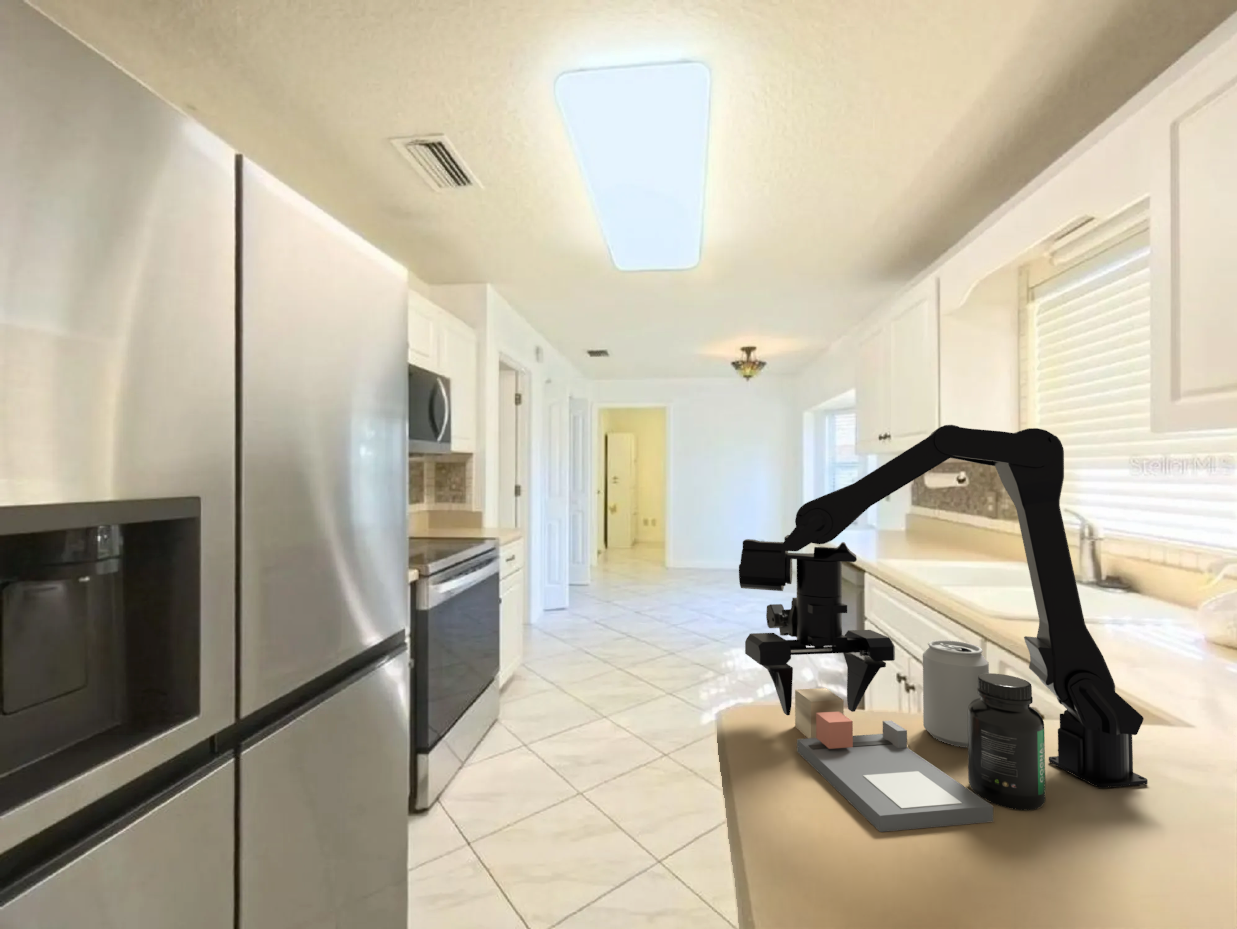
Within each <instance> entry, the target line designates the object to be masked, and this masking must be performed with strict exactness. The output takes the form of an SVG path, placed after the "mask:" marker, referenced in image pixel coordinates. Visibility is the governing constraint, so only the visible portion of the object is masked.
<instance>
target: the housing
mask: <svg viewBox="0 0 1237 929" xmlns="http://www.w3.org/2000/svg"><path fill="white" fill-rule="evenodd" d="M844 702H845V701H844V699H843V698H842V697H839V695H837V694H835V693H834V692H832V691H831V690H830V689H828V688H826V687H823V688H803V689H794V724H795V725H794V727H795V728H796V729H797V730H798V731H800V733H801V734H803V735H804V736H805V737H806V739H807V738H816V713H821V712H840V713H842V714H843V715H845V711H844V707H845V706H844Z"/></svg>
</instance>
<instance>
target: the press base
mask: <svg viewBox="0 0 1237 929" xmlns="http://www.w3.org/2000/svg"><path fill="white" fill-rule="evenodd" d="M796 752H797V753H798V754H799V755H800V756H801V757H802V758H803V759H804V760H805V761H806V762H807V763H808V764H810V766H811V767H813V769H815V771H817V772H818V773H819V774H820V775H821V776H822V777H823V779H825V780H826V781H827V782H828V783H829V784H830V785H831V786H832V787H833V788H834V789H835V790H836V791H837V792H838V793H839V794H840V795H841V796H843V798H844V799H845V800H847V801H848V802H849V804H851V805H852V806H853V808H854V809H856V810H857V811H858V812H859V813H860V814H861V815H862V816H863V817H864V818H865V819H866V820H867V821H868V822H869V823H870V824H871V825H872V826H873V827H874V828H875V829H876V830H877V831H878V832H879V833H882V832H883V833H885V832H896V831H897V832H898V831H907V830H915V829H917V830H918V829H928V828H939V827H949V826H960V825H969V824H970V825H972V824H973V825H974V824H982V823H983V824H984V823H994V805H992V804H991V803H990V802H989V801H987V800H985V799H983V798H981V797H980V796H978V795H977V794H976V793H975V792H974V791H973V790H971V789H969V788H968V787H966V786H965V785H963V784H961V783H960V782H959V781H957V780H956V779H954V778H953V777H951V776H950V775H948V774H947V773H946V772H944V771H942V770H941V769H940V768H938V767H936V765H933V764H932V763H931V762H929V761H927V760H926V759H925V758H923V757H922V756H920V755H919V754H917V753H916V752H915V751H913V750H911V749H910V748H909V747H908V730H907V729H905V728H904V727H903V726H901V725H899V724H897V723H896V722H894V721H893V720H882V733H876V734H874V733H873V734H861V735H859V734H858V735H857V734H856V735H853V747H848V748H833V749H829V748H828V747H826V746H825V745H824V744H823V743H822V742H821V741H819V740H818V739H817V738H807V737H806V738H797V739H796Z"/></svg>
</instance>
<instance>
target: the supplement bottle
mask: <svg viewBox="0 0 1237 929" xmlns="http://www.w3.org/2000/svg"><path fill="white" fill-rule="evenodd" d="M1032 688H1033V687H1032V684H1031V682H1029V681H1028V680H1026V679H1023V678H1020V677H1019V676H1018V677H1017V676H1013V675H1010V674H1009V675H1008V674H1003V673H990V672H989V673H986V674H980V675H979V676H978V688H977V693H978V695H979V696H980V698H977V699H975V700H973V701H972V702H971V703H970V704H969V706H968V713H967V715H968V747H967V772H968V777H967V778H968V785H969V787H970V788H971V791H972V792H973V793H975V794H976V795H978V796H979V797H981V798H982V799H984V800H985V801H986V802H988V803H990V804H991V803H992V804H993V805H997V806H999V807H1003V808H1008V809H1010V810H1016V811H1034V810H1035V811H1036V810H1038V809H1040V808H1042V807H1043V806H1044V805H1045V802H1046V753H1045V752H1046V751H1045V750H1046V749H1045V747H1046V746H1045V722H1044V721H1045V720H1044V719H1043V717H1042V715H1041V714H1040V713H1039V712H1038V710H1036V709H1035V708H1033V707H1032V706H1030V705H1031V704H1033V694H1032V693H1033V689H1032Z"/></svg>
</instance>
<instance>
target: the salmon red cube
mask: <svg viewBox="0 0 1237 929" xmlns="http://www.w3.org/2000/svg"><path fill="white" fill-rule="evenodd" d="M853 722H854V721H853V719H851V718H850V717H847V715H845V714H844V715H843V714H842V713H840V712H821V713H816V738H817V739H818V740H819V741H821V742H822V743H823V744H824V745H825V746H826V747H828V748H829V749H833V748H848V747H853V736H854V735H853V731H854V728H853V726H854V725H853V724H854V723H853Z"/></svg>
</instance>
